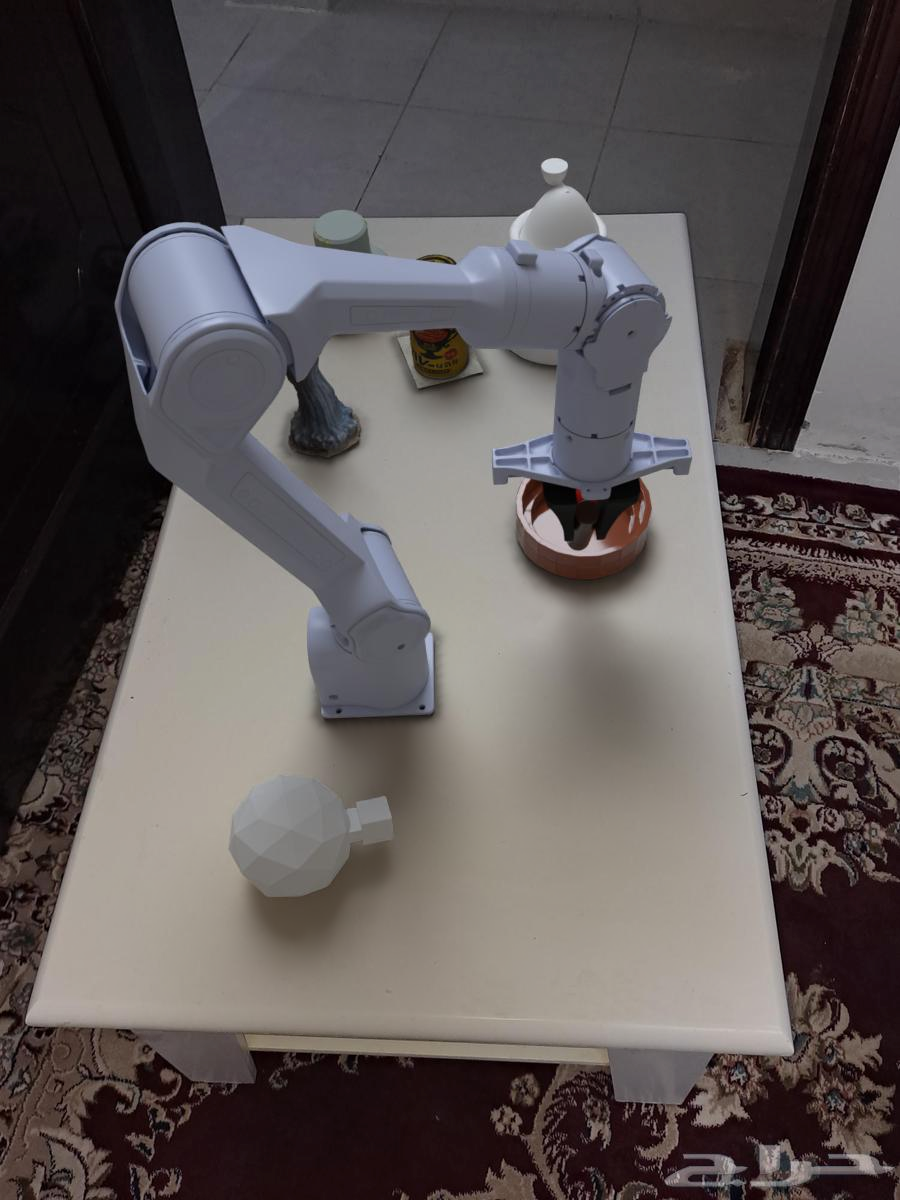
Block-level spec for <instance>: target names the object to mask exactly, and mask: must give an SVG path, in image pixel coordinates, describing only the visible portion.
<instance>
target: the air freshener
mask: <svg viewBox="0 0 900 1200" xmlns="http://www.w3.org/2000/svg"><path fill="white" fill-rule="evenodd" d="M312 236H313V242H314V246H315V247H323V248H330V249H338V250H345V251H353V252H360V253H368V254H375V255H383V256H389V255H388V253H387V252H386V251H384V250H383V249H382V248H381V247H379V246H377V245H376V244H373V243H371V241H370V237H369V229H368V222H367V220H366V219H365V217H364V216H362V214H359V213H358V212H356V211H353V210H348V209H336V210H332V211H329V212H326V213H324V214H323V215H321V216H320V217H318V219H317V220H316V221H314V223H313V225H312Z"/></svg>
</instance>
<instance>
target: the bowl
mask: <svg viewBox="0 0 900 1200" xmlns="http://www.w3.org/2000/svg"><path fill="white" fill-rule="evenodd" d="M639 481H640V487H641V492H640V496H639V499H638V501H637V503H636V504H634V505H632V506H630V507H629V508H627V509H626V510H625V511H624V512H623V513H622V514H621V515H620V516H619V517H618V518H617V519H616V521H615V522H614V523H613V525H612V527H611V528H610V530H609V532H608V533H607V535H606V538H605V539H604V540H597V539H596V532H595V529H594V532H593V534H592V537H591V540H590V542H589V545H588V546H587V547H586V548H585V549H583V550H580V551H577V550H573V549H571V548H570V547H569V546H568V544H567V542H566V541H564V533H563V529H562V526H561V524H560V521H559V520H558V518H557V516H556V515H555V514H554V512H553V511H552V510H551V509H550V508H548V507H547V504H546V502H545V500H544V495H543V485H542V481H539V480H534V479H530V478H525V477H524V479H522V481H521V482H520V485H519V487H518V490H517V493H516V496H515V534H516V539H517V541H518V543H519V545H520V547H521V549H522V551H523V552H524V554H525V555H526V556H527V557H528V558H529V559H530V560H531V561H532V562H533V563H534V564H535V565H537V566H538V567H540V568H542V569H544V570H545V571H548V572H549V573H552V574H554V575H556V576H561V577H565V578H569V579H575V580H590V579H591V580H592V579H593V580H595V579H601V578H603V577H607V576H610V575H613V574H616V573H618V572H620V571H622V570H623V569H625V568H627V566H629V565H631V563H633V562H634V561H635V560H636V559H637V558H638V556H639V555H640V553H641V551H643V549H644V548H645V545H646V540H647V536H648V532H649V529H650V522H651V521H650V520H651V517H652V511H653V507H652V501H651V495H650V491H649V489H648V488H647V486H646V484H645V483H644V481H643V479H642V477H640V478H639ZM576 490H577V489H576Z"/></svg>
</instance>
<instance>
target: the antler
mask: <svg viewBox="0 0 900 1200" xmlns="http://www.w3.org/2000/svg"><path fill="white" fill-rule="evenodd" d="M195 223H197V224H201V222H199V221H196V222H195ZM265 320H266V319H265ZM266 322H267V320H266ZM267 324H268V322H267ZM322 352H323V351H322ZM322 352H321V353H320V355H319V357H318V358H317V360H316V362H315V363H314V365H313V366H312V368H311V370H310V371H309V373H308V375H307V376H306V378H305V379H303V380H302V381H300V382H297V381H296V379H295V377H294V375H293V373H292V371H291V369H290V367H289V365H287V373H286V378H287V381H288V382H289V383H290V384H291V385H292V386H293V388H294V390H295V392H296V397H297V406H298V407H297V410H296V411H295V410H294V412H293V416H292V417H291V419H290V428H289V429H290V430H289V435H288V439H287V440H288V442H287V444H288V446H289V447H290V448H291V451H294V452H297V453H301V454H304V455H305V454H306V455H308V456H319V457H323V458H327V459H329V458H331V456H335V455H338V454H339V453H341V452H343V451H345V450H347V449H349V448H350V447H351V446H352V445H354V444H356V443H357V442H359V440H360V437H359V436H360V431H361V429H360V428H361V426H362V424H361V422H360V421H361V420H360V417H359V416H358V415H357V414H356V413H354V410H353V408H352V407H350V406H346V405H345V404H344V403H343V401H341V400H339V398H338V397H337V395H336V392H335V389H334V388H333V386H332V385H331V383H330V382H329V381H328V380H327V378H326V377H325V376H324V374H323V373H322V372H321V370H320V367H319V363H320V361H319V360H320V356H321V355H322Z"/></svg>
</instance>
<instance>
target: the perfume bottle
mask: <svg viewBox="0 0 900 1200" xmlns="http://www.w3.org/2000/svg"><path fill="white" fill-rule="evenodd" d="M389 806H390V805H389V803H388V799H387V796H386V795H383V796H378V797H374V798H368V799H365V800H359V801H355V807H351V808H345V805H344V804H343V802H342V800H341V798H340V796H339V795H338V794H336V793H335V792H334V791H333V790H331V789H329V788H328V787H327V786H326V785H325V784H323V783H322V782H321V781H319V780H318V779H317V778H315V777H312V776H300V775H286V774H280V775H277V776H275V777H273V778H270V779H269V780H267V781H264V782H262V783H259V784H257V785H255V786H253V788H252V789H251V790H250V791H249V793H248V794H247V795H246V796H245V797H244V799H243V801H242V802H241V803H240V804H239V805H238V807H237V808H236V809H235V811H234V812H233V813H232V817H231V825H230V833H229V834H230V835H229V842H228V851H229V852H230V855H231V856H232V859H233V861H234V863H235V865H236V867H237V868H238V870H239V872H240V873H241V874H242V876H243V877H244V878H246V879H247V880H248V881H249V882H250V883H251V884H252V885H253V886H254V887H255V888H256V889H258V890H259V892H261V893H262V894H263V895H264V896H266V897H267V898H283V897H284V898H288V897H289V898H294V897H295V898H296V897H298V898H299V897H300V898H301V897H304V896H307V895H309V894H312V893H314V892H317V891H319V890H322V889H324V888H327V887H330V885H331V883H332V882H333V881H334V879H335V878H336V877H337V875H338V873H339V872H340V871H341V869H342V868H343V866H345V863H346V862H347V861H348V859H349V858H350V851H351V844H353V843H356V842H361V841H362V844H363V846H366V845H371V844H375V843H380V842H384V841H389V840H393V839H394V828H393V817H392V813H391V810H390V807H389Z"/></svg>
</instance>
